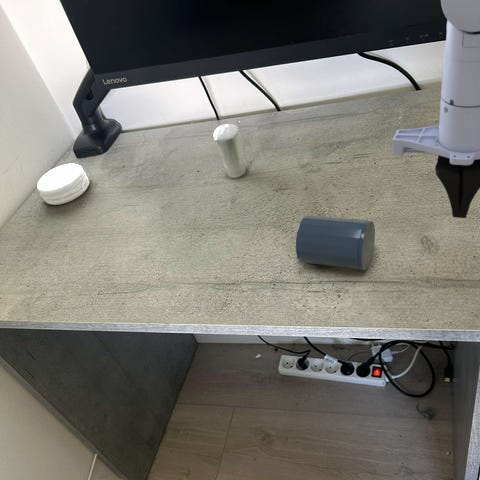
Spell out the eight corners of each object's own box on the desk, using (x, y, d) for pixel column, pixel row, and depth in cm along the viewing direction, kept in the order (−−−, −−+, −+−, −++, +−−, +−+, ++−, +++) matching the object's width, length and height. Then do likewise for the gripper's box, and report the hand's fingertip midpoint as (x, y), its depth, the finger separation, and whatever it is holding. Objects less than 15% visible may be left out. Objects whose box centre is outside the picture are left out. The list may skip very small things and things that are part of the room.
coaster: (86, 171, 105) (78, 156, 102) (93, 192, 98) (85, 177, 96) (42, 190, 104) (33, 176, 101) (47, 212, 97) (38, 197, 95)
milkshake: (249, 179, 88) (235, 127, 80) (222, 180, 90) (206, 129, 82) (256, 165, 90) (244, 113, 83) (229, 166, 92) (215, 116, 85)
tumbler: (376, 215, 65) (312, 210, 69) (363, 229, 60) (295, 223, 64) (373, 260, 68) (312, 253, 72) (360, 277, 63) (295, 268, 67)
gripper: (382, 113, 46) (385, 227, 56) (562, 115, 39) (529, 243, 49) (403, 78, 50) (402, 190, 59) (571, 73, 43) (538, 201, 53)
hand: (460, 212), depth 55 cm, fingers closed
